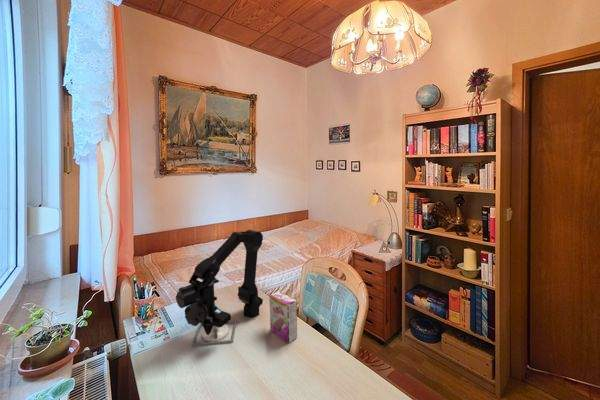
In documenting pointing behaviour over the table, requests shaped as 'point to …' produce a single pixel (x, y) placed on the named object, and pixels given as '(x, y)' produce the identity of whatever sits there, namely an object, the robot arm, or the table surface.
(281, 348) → the table surface
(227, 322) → the panel
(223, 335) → the dial
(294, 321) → the candy bar box
